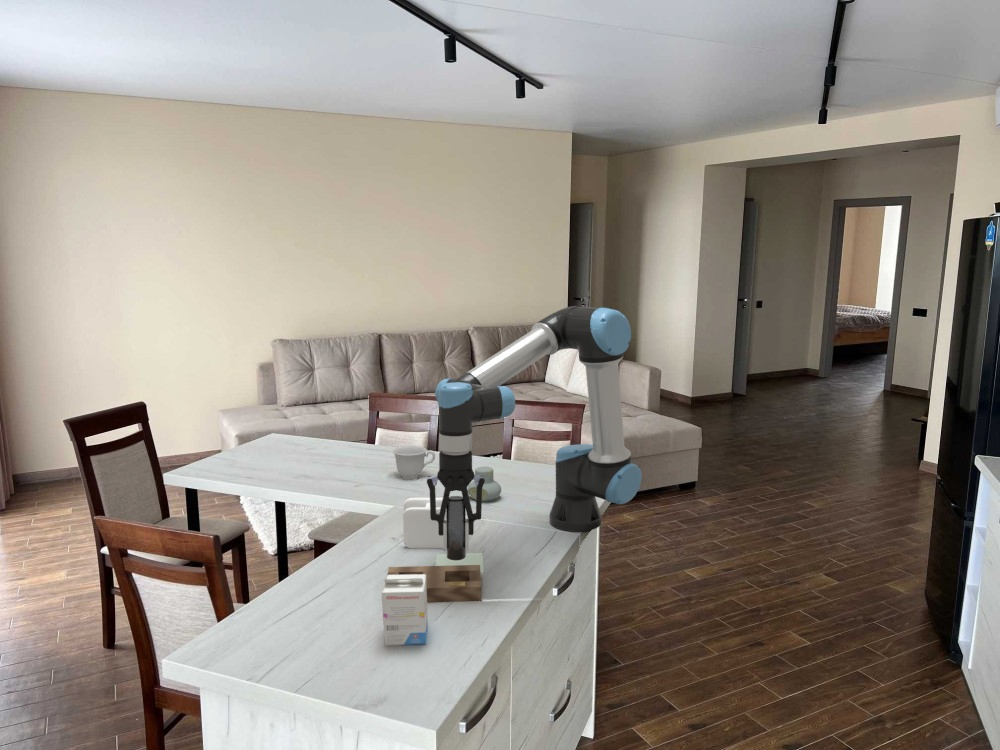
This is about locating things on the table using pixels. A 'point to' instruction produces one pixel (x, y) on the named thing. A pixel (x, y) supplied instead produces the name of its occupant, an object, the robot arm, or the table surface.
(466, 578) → the socket block
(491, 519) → the table surface
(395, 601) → the ink box
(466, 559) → the mat
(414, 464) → the teacup
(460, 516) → the plug
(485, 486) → the air freshener
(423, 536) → the cable organizer
